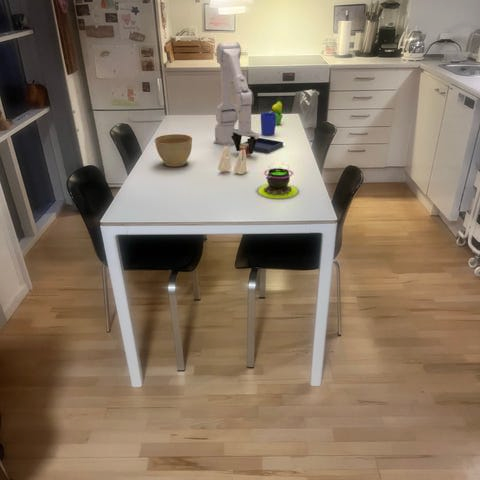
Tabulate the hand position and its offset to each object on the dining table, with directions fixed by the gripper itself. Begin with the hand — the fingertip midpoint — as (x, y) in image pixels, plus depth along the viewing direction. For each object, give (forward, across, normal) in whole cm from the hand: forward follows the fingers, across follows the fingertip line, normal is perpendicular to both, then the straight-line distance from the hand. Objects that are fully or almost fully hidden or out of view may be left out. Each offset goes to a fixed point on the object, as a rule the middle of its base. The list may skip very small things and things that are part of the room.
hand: (244, 152), depth 220 cm
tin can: (+2, 0, 0) cm, 2 cm away
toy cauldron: (+2, -38, +28) cm, 48 cm away
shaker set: (+2, -11, +22) cm, 25 cm away
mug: (+2, +14, -38) cm, 40 cm away
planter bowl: (+2, +17, +28) cm, 33 cm away
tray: (+2, +1, -15) cm, 15 cm away
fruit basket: (+2, +24, -58) cm, 63 cm away
